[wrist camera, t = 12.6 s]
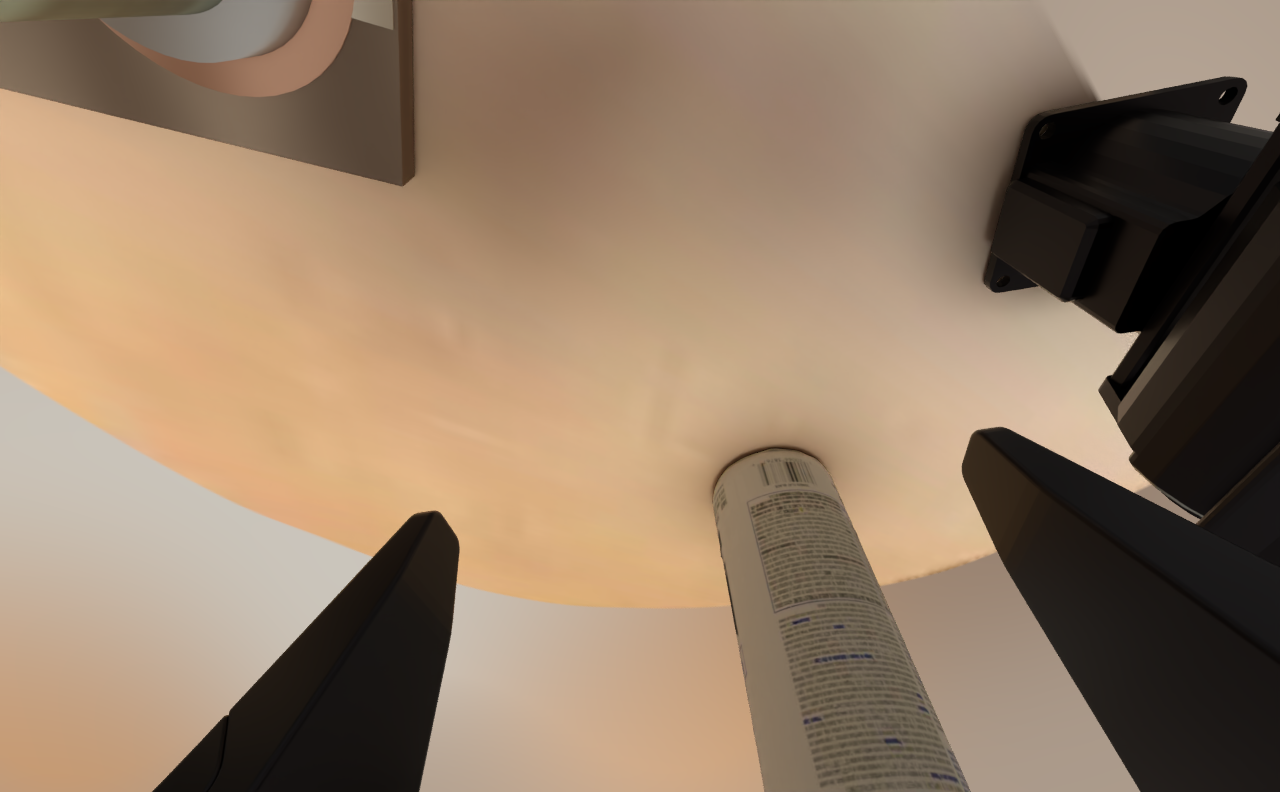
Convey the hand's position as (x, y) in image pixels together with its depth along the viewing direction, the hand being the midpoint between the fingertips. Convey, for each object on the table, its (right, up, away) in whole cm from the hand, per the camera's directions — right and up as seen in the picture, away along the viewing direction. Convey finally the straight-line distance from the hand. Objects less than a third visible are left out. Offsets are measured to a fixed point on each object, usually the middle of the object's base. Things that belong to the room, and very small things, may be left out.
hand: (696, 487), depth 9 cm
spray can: (+6, -3, +20) cm, 21 cm away
